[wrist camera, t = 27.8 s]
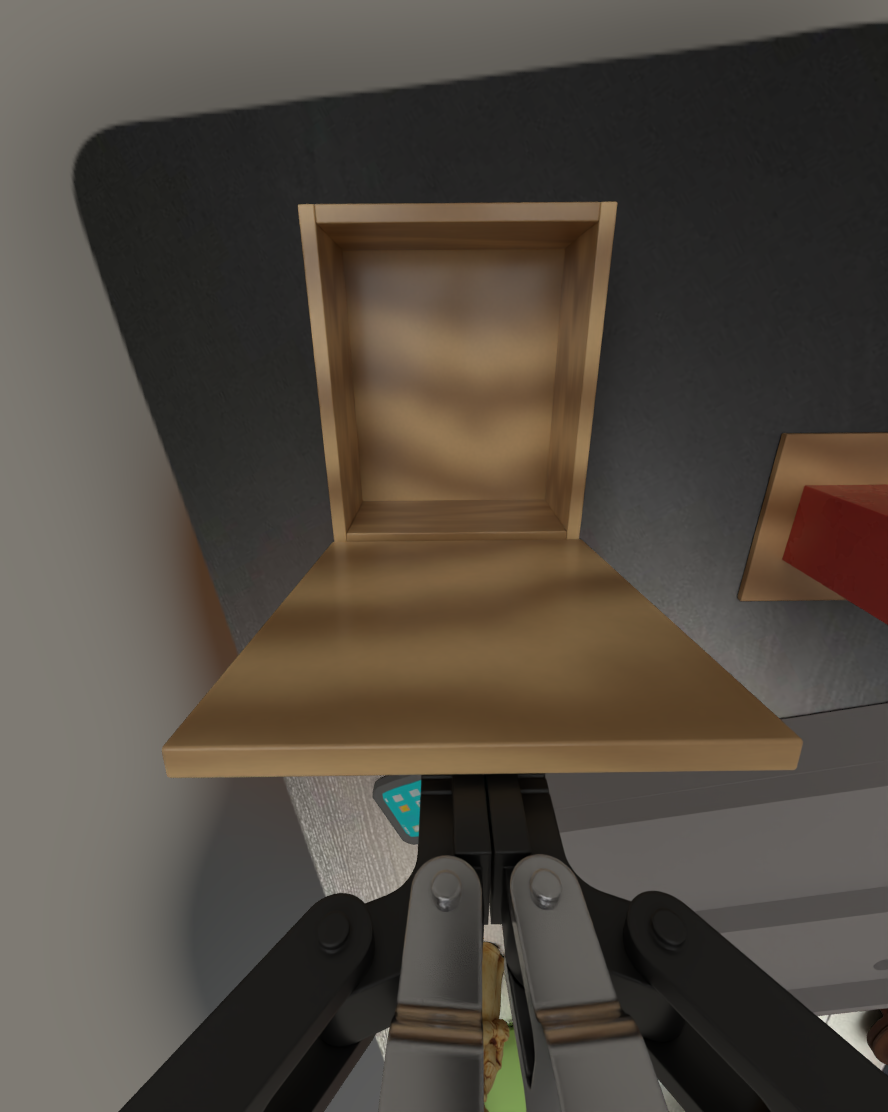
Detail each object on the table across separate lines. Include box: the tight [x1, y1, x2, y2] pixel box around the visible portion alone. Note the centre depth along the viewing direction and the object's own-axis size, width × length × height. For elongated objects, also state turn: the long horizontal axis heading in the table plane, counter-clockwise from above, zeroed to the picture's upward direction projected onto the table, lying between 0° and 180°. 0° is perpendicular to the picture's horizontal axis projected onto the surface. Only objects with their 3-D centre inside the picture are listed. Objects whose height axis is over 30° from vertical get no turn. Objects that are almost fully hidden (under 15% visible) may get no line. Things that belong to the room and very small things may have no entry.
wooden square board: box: [737, 432, 888, 601], centre depth 32 cm, size 12×12×1 cm
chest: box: [298, 202, 617, 542], centre depth 26 cm, size 15×13×7 cm
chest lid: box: [162, 539, 803, 778], centre depth 18 cm, size 16×13×1 cm
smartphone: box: [373, 775, 421, 845], centre depth 42 cm, size 9×1×15 cm
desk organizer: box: [545, 703, 888, 1016], centre depth 43 cm, size 32×40×7 cm
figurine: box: [482, 942, 510, 1112], centre depth 47 cm, size 8×8×15 cm
